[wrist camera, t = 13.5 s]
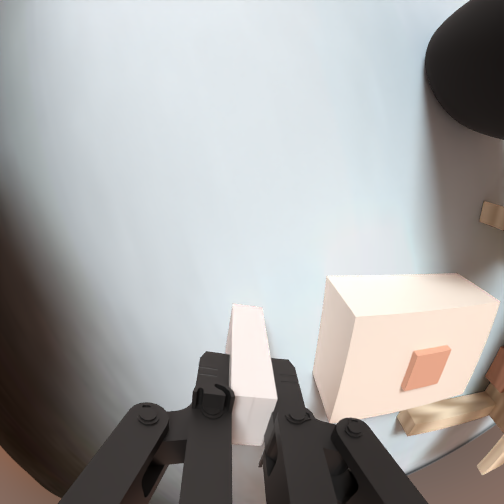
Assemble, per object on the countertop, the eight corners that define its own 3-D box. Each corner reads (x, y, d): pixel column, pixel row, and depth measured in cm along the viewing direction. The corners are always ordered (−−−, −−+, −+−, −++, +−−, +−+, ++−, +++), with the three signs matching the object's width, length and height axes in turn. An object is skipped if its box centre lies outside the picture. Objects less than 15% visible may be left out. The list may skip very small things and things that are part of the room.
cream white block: (311, 370, 19) (331, 429, 14) (325, 274, 17) (359, 322, 12) (430, 355, 20) (466, 397, 14) (455, 271, 18) (505, 305, 12)
